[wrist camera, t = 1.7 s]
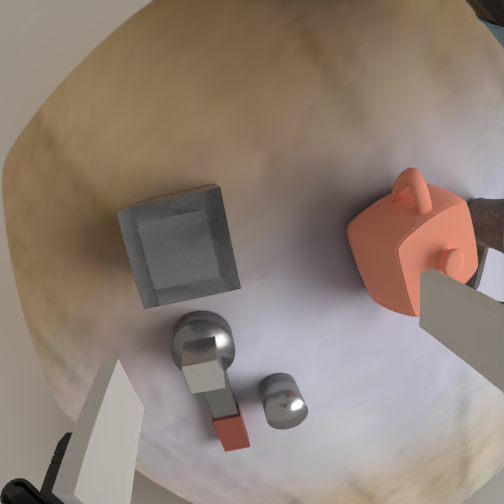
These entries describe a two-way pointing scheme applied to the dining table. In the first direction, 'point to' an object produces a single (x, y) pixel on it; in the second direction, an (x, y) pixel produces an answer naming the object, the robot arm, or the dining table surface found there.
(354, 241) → the teapot
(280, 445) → the dining table surface
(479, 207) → the pipe
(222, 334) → the ratchet
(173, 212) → the grey square box
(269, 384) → the socket
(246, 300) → the dining table surface
